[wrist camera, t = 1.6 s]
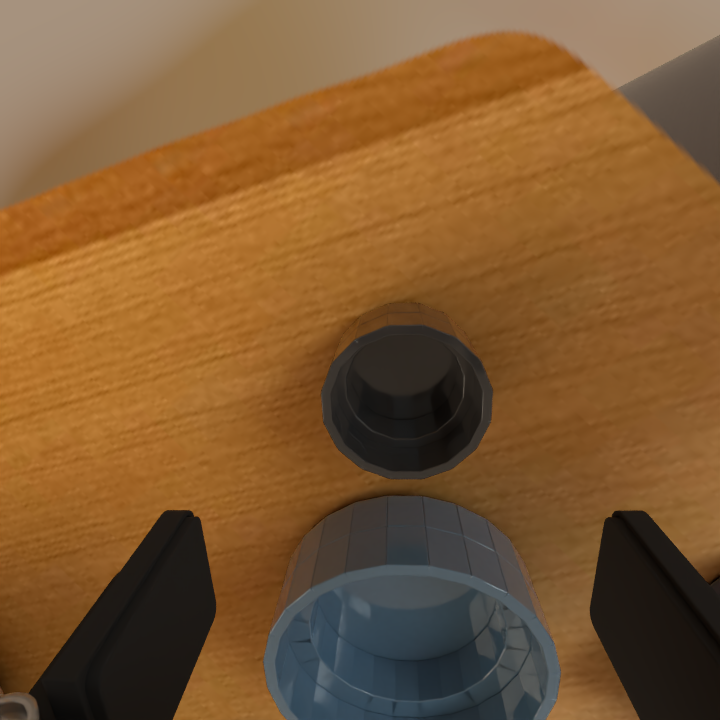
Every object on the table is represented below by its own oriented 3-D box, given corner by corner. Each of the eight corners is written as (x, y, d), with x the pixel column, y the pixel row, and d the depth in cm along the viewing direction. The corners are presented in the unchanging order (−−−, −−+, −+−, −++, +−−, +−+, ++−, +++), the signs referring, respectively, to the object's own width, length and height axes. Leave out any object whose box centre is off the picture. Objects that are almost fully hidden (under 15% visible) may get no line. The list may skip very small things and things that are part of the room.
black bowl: (402, 270, 20) (404, 287, 16) (502, 366, 22) (529, 406, 17) (307, 369, 22) (287, 408, 18) (403, 452, 23) (406, 507, 19)
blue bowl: (403, 440, 23) (407, 508, 18) (577, 592, 26) (624, 690, 21) (242, 584, 27) (207, 672, 22) (406, 702, 30) (409, 807, 25)
